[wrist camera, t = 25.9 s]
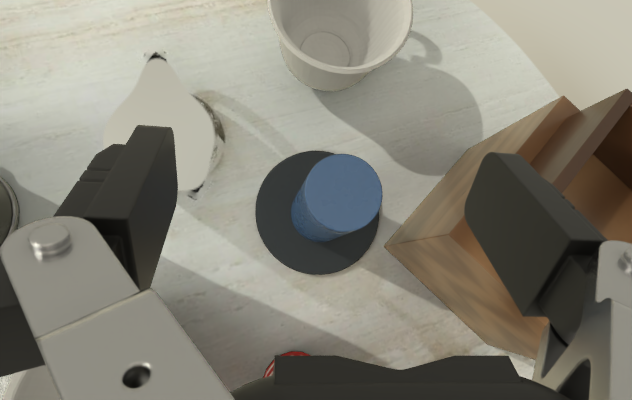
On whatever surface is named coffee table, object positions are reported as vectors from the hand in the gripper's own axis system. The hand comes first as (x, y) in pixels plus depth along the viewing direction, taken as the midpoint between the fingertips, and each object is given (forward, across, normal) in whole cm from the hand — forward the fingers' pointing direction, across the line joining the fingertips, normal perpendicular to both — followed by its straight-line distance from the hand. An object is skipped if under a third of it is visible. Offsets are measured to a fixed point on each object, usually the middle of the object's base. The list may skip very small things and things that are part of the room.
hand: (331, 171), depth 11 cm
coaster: (+23, -4, +19) cm, 30 cm away
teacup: (+35, -4, +7) cm, 36 cm away
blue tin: (+23, -4, +18) cm, 29 cm away
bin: (+21, -20, +20) cm, 36 cm away
